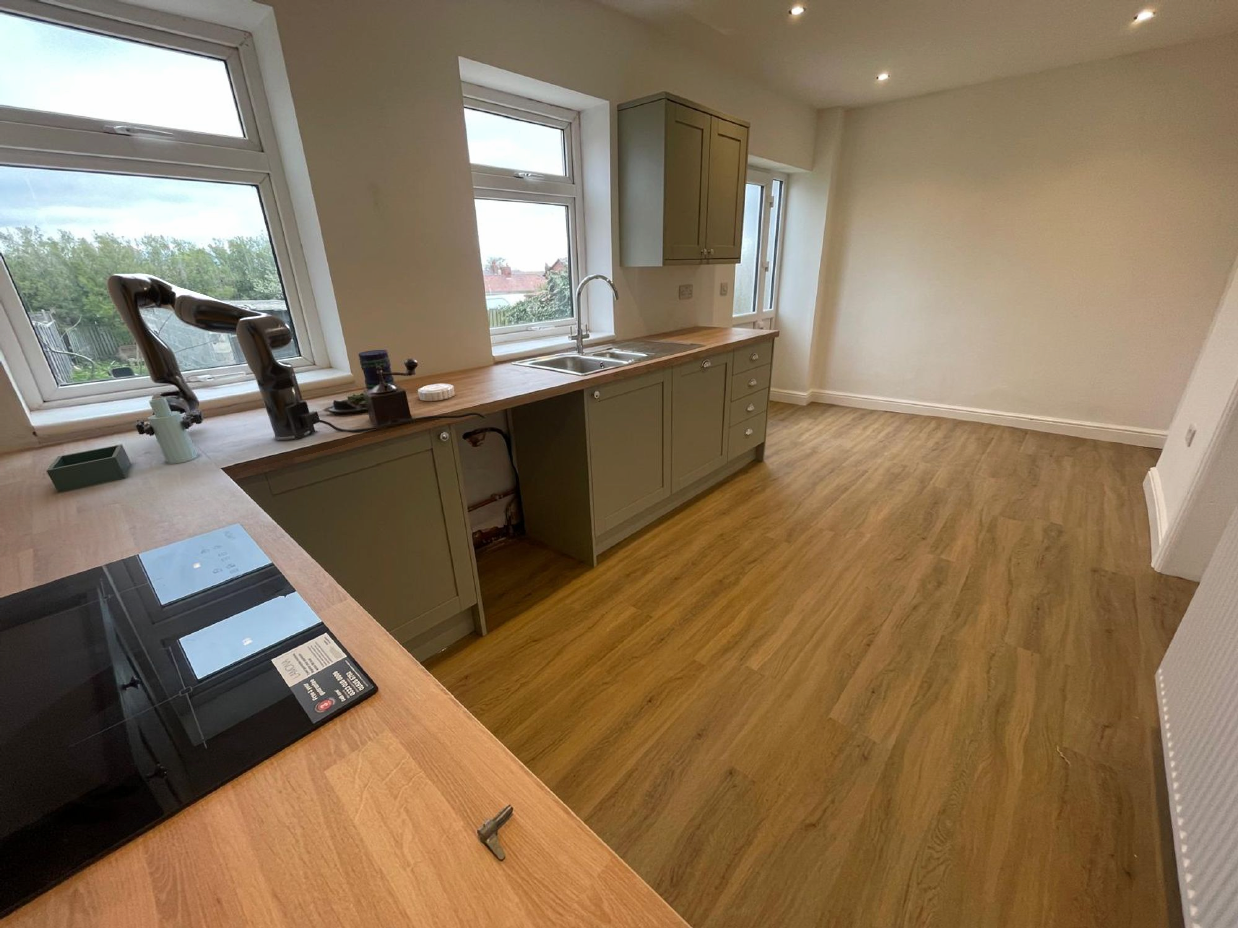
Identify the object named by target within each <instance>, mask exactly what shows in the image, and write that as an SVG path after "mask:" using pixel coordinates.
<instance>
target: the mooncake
mask: <svg viewBox="0 0 1238 928" xmlns="http://www.w3.org/2000/svg"><path fill="white" fill-rule="evenodd" d="M417 393H418V399H419V400H421V401H422V402H423V401H424V402H437V401H443V400H447V399H451V398H452V397H454V396H455V388H454V385H452V384H450V383H445V382H444V383H434V384H428V385H424V386H423V387H420V388H418V390H417Z"/></svg>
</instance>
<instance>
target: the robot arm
mask: <svg viewBox="0 0 1238 928" xmlns="http://www.w3.org/2000/svg"><path fill="white" fill-rule="evenodd" d="M106 290H107V293H108V295H109V298H110V300H111V302H112V304H113V306H114V307H115V309H116V311H117V312H118V314H119V316H120V318H121V320H122V321H123V323H124V325H125V327H126V328H127V330H128V331H129V333H130V335H131V337H132V339H133V340H134V342H135V344H136V346H137V347H138V350H139V352H140V354H141V357H142V359H143V361H144V365H145V367H146V370H147V372H148V376H149V377H150V380H151V381H152V382H153V383H155V384H161V385H172V386H174V387H176V388H177V389H174V390H166V391H159V392H156V393H154V394H153V395H152V396H151V400H153V399H158V398H166V400H167V403H168V405H169V408H170V410H171V412H173V411H177V412H180V414H181V417H182V419H183V420H182V423H183V425H184V427H185V429H187V430H190V428H191V427H193V426H194V424H196V425H200V424H202V423H203V422H204V420H205V417H204V414H203V412H202V409H199V407H200V400H199V398H198V397H197V395H196V394H195V392H194V391H193V390H192V388H191V387H190V386H189V384H188V383H187V382H186V380H185V378H184V376H183V375H182V372H181V369H180V366H179V363H178V361H177V358H176V356H175V353H174V351H173V350H172V348H171V347H170V346H169V345H168V344H167V343H166V342H165V341H164V340H163V339H162V338H161V337H160V336H158V335H157V334H156V332H154V331H153V329H151V327H149V325H148V324H147V323H146V321H145V319H144V317H143V316H142V313H141V310H146V309H161V310H162V309H163V310H168V311H170V312H171V311H172V312H173V314H174V316H175V317H176V318H177V319H178V320H179V321H180V322H182V323H184V324H186V325H187V326H189V327H193V328H196V329H199V330H201V331H205V332H210V333H218V334H226V335H227V334H230V335H236V339H237V341H238V344H239V347H240V350H241V351H242V354H243V356H244V359H245V361H246V364H247V366H248V368H249V370H250V371H251V372H252V374H253V375H254V378H255V381H256V384H257V386H258V391H259V392H260V395H261V398H262V402H263V404H264V408H265V411H266V413H267V414H266V415H267V416H268V419H269V422H270V426H271V428H272V431H273V434H274V438H275V440H277V441H290V440H300V439H302V438H305V437H307V436H309V435H311V434H314V433H315V432H316V428H315V425H317V424H318V423H321V424H324V425H326V426H329V427H330V428H331V429H333V430H335V431H338V432H343V433H344V432H345V433H359V432H368V431H369V432H370V431H375V430H380V429H383V428H387V427H392V426H397V425H402V424H406V423H412V422H417V421H422V420H430V419H461V418H465V417H470V416H478V417H481V418H482V419H486V416H485V415H484V414H482V413H481V412H476V411H475V412H474V411H473V412H467V413H463V414H456V415H455V414H454V415H453V414H452V415H451V414H446V415H443V414H442V415H440V414H439V415H426V416H420V417H419V416H418V417H415V418H412V419H409V420H404V421H399V422H394V423H389V424H385V425H381V426H372V427H365V428H357V429H345V428H340V427H337V426H335V425H334V424H332V423H331V422H329V421H327V420H324V419H320V415H319V412H318V411H316V410H315V411H310V409H309V406H308V402H307V401H306V400H304V399H303V395H302V393H301V390H300V386H299V383H298V379H297V376H296V372H295V369H294V366H293V365H292V364H291V363H289V362H285V361H279V360H277V359H276V358H275V356H274V353H273V351H277V350H280V349H284V348H285V347H287V346H288V345H289V344H290V343H291V342H292V339H293V332H292V330H291V328H290V327H289V325H288V324H287V323H286V321H285V320H283V319H282V318H280V317H278V316H276V315H274V314H269V313H265V312H260V311H255V310H250V309H246V308H243V307H240V306H237V305H234V304H231V303H229V302H226V301H222V300H220V299H217V298H214V297H211V296H208V295H205V294H202V293H199V292H195V291H193V290H189V289H186V288H181V287H178V286H177V285H174V284H171V283H169V282H167V281H166V280H164V279H160V278H158V277H156V276H154V275H151V274H146V273H115V274H114V273H113V274H111V275H110V276H109V277H108V278H107V280H106ZM152 415H155V414H154V412H153V411H152ZM152 415H151V416H152ZM134 426H135V428H136V431H137V432H138V435H141V436H142V435H144V434H145V435H146V436H147V435H148V436H150V437H152V436H155V434H154V432H153V430H152V427H151V425H150V423H149V421H144V420H141V419H136V420H134Z"/></svg>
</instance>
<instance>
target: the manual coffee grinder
mask: <svg viewBox="0 0 1238 928" xmlns="http://www.w3.org/2000/svg"><path fill="white" fill-rule="evenodd" d="M403 361H404V362H403V364H404V366H405V368H406V371H405V372H399V371H398V372H397V371H393V372H392V371H391V372H388V373H387V372H382V371H381V367H380V366H377V370H378V371H377V373H378V374H379V378H380V384H379V385H377V386H375V387H374V388H373V389H369V390H367V389H365V390H364V389H363V390H362V393H363V394H364V398H365V402H366V407H367V411H368V413H367V415H368V419H369V420H370V422H371V423H372V424H373V425H374V427H376V426H381V425H385V424H389V423H394V422H399V421H404V420H409V419H413V417H412V413H411V410H410V404H409V399H408V395H407V391H406V389H405V388H403V387H401V386H400V385H397V384H395V385H392V384H388V383H384V381H383V377H382V374H384V375H392V376H403V377H412V376H415V375H416V368H417V367H418V366H419V363H418V361H417V360H415V359H414V358H407V359H405V360H403Z"/></svg>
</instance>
